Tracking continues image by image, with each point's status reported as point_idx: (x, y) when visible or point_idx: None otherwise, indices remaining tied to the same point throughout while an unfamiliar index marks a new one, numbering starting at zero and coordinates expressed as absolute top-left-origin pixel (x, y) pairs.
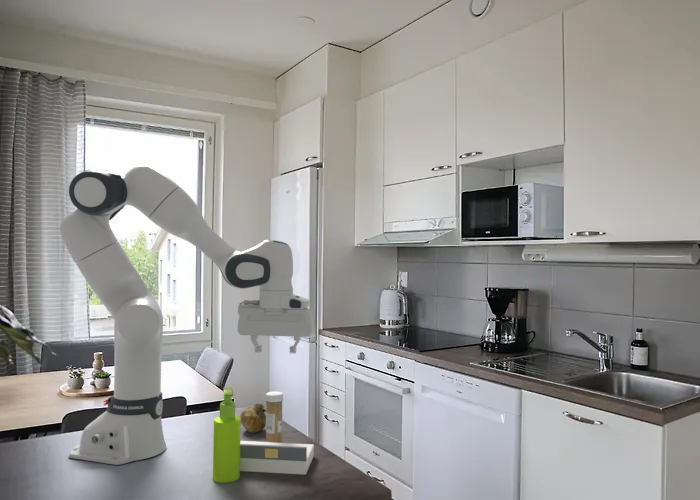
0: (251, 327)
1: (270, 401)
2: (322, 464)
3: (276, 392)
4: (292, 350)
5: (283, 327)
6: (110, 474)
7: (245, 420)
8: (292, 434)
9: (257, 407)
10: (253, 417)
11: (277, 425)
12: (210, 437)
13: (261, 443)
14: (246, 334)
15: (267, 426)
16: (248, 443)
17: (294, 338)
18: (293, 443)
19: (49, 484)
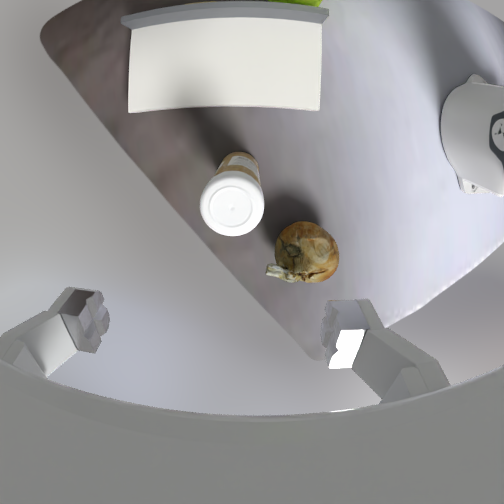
0: (491, 447)
1: (240, 172)
2: (118, 80)
3: (226, 218)
4: (73, 297)
5: (25, 465)
6: (467, 44)
7: (322, 230)
8: (211, 231)
9: (301, 264)
10: (304, 234)
11: (223, 163)
12: (382, 198)
13: (250, 94)
14: (491, 373)
15: (251, 163)
16: (283, 92)
17: (15, 355)
18: (173, 107)
19: (501, 38)
